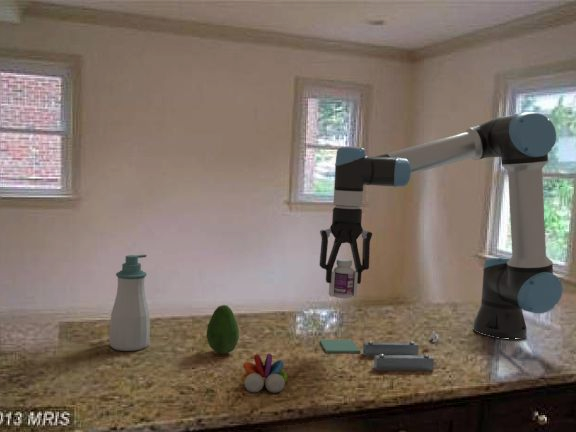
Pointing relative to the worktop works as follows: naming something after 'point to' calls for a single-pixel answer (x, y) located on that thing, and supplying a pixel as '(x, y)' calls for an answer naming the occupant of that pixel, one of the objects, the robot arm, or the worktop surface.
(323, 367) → the worktop surface
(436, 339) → the adhesive hook
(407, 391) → the worktop surface
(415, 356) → the channel
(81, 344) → the worktop surface
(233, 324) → the avocado
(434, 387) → the worktop surface
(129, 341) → the soap bottle
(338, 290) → the pill bottle
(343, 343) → the pad
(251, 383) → the rainbow fan toy
